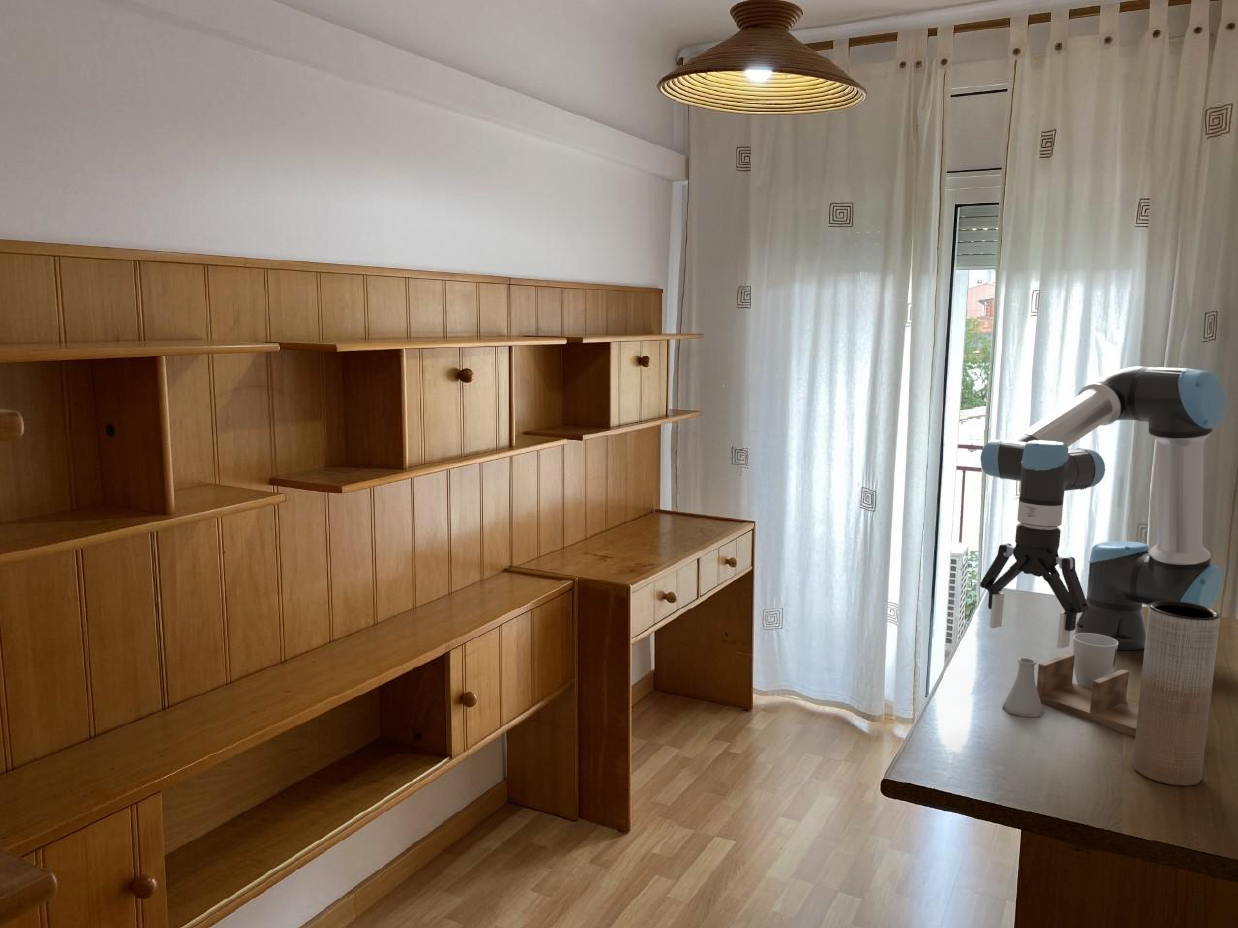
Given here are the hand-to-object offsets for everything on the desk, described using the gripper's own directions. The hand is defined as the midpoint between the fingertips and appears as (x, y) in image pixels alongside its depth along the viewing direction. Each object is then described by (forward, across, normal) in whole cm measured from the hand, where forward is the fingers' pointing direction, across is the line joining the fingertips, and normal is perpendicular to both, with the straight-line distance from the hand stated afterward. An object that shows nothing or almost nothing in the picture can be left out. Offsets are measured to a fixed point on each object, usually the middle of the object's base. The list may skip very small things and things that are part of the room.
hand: (1028, 636), depth 183 cm
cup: (+14, +1, +23) cm, 28 cm away
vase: (+15, +28, -4) cm, 32 cm away
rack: (+14, +10, +12) cm, 21 cm away
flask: (+15, 0, 0) cm, 15 cm away
